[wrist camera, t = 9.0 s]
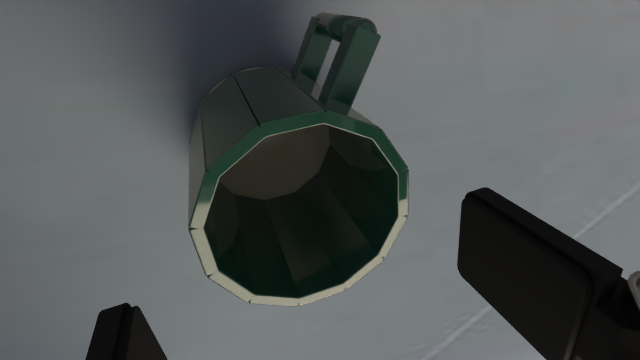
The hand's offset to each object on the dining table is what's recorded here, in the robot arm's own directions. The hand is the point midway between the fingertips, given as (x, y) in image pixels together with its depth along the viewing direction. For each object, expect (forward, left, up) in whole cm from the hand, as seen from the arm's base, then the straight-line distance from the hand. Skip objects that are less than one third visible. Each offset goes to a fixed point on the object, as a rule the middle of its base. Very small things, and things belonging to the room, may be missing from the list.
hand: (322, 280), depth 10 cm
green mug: (+2, -1, -10) cm, 10 cm away
